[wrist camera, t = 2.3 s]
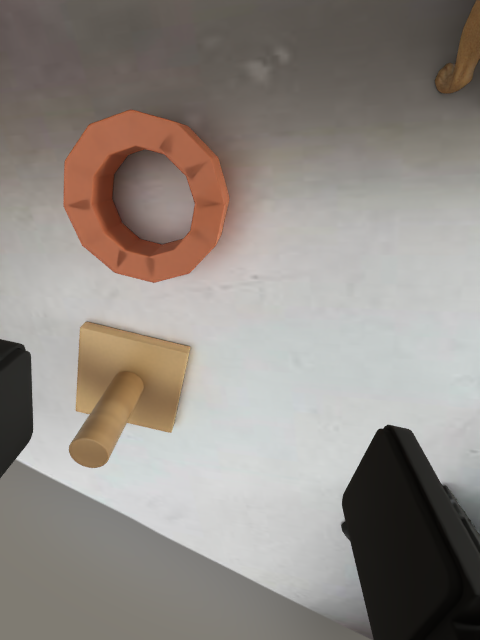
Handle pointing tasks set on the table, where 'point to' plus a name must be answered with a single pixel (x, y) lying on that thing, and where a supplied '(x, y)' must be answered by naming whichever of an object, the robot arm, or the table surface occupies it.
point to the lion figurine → (463, 56)
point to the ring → (100, 212)
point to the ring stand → (123, 388)
